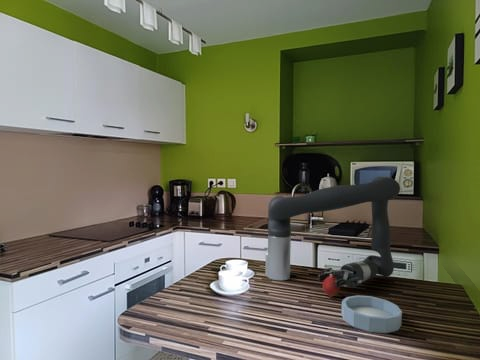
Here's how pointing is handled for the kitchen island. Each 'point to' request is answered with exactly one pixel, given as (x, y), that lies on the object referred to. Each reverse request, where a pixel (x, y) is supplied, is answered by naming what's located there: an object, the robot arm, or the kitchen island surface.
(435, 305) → the kitchen island surface
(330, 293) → the onion
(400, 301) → the kitchen island surface
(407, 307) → the kitchen island surface
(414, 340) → the kitchen island surface
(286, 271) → the robot arm
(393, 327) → the faceted shallow dish
